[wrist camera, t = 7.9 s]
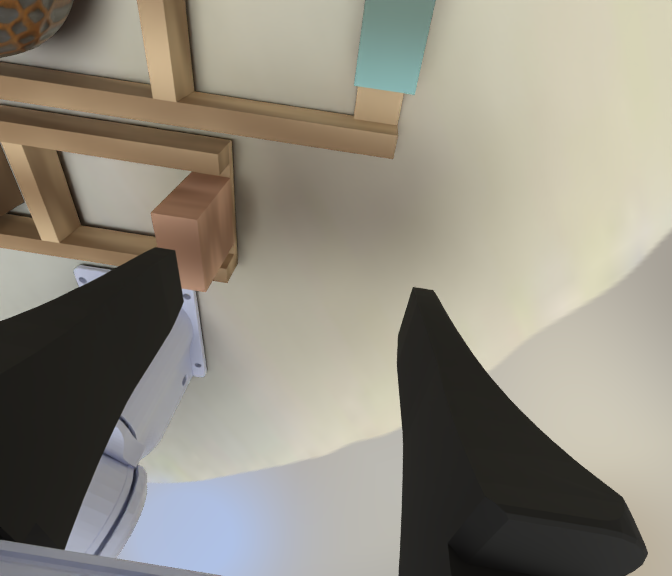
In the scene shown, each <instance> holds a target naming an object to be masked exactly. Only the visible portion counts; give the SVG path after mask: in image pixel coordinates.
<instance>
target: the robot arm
mask: <svg viewBox="0 0 672 576" xmlns="http://www.w3.org/2000/svg"><path fill="white" fill-rule="evenodd" d="M74 275H75V277H76V280H77V283H78V285H79V287H78V288H76V289H74V290H72V291H70V292H68V293H66V294H64V295H62V296H60V297H58V298H56V299H54V300H52V301H50V302H47V303H45V304H43V305H40V306H38V307H36V308H33V309H31V310H28V311H26V312H23V313H21V314H18V315H16V316H13V317H11V318H8V319H5V320H2V321H0V576H221V575H215V574H209V573H202V572H196V571H190V570H184V569H178V568H172V567H166V566H159V565H153V564H147V563H140V562H134V561H128V560H122V559H116V558H117V556H118V555H119V553H120V552H121V550H122V549H123V547H124V546H125V544H126V542H127V541H128V539H129V537H130V536H131V534H132V532H133V530H134V528H135V526H136V524H137V522H138V519H139V517H140V515H141V512H142V510H143V507H144V503H145V500H146V495H147V473H146V470H145V469H144V468H143V467H142V466H140V465H138V463H139V461H140V460H141V459H142V458H144V457H145V456H146V455H148V454H149V453H150V452H151V451H152V450H153V449H154V448H155V447H156V446H157V445H158V443H159V442H160V440H161V439H162V437H163V435H164V433H165V431H166V429H167V427H168V425H169V423H170V421H171V419H172V417H173V415H174V413H175V411H176V409H177V407H178V405H179V403H180V400H181V398H182V396H183V394H184V392H185V390H186V388H187V386H188V384H189V382H190V380H191V378H192V376H196V377H204V376H205V375H206V373H207V368H206V361H205V353H204V346H203V339H202V332H201V325H200V318H199V311H198V304H197V296H196V291H194V290H188V289H182V287H181V281H180V275H179V269H178V263H177V257H176V252H175V250H171V249H165V248H158V247H154V248H152V249H150V250H148V251H146V252H144V253H142V254H140V255H139V256H137V257H135V258H133V259H131V260H129V261H128V262H126V263H124V264H122V265H120V266H119V267H117V268H115V269H113V270H109V269H103V268H96V267H90V266H83V265H79V266H77V267H76V268H75V269H74ZM187 294H189V295H190V296H188V295H187ZM397 372H398V384H399V396H400V407H401V419H402V430H403V484H402V485H403V486H402V517H401V540H400V559H399V576H626V575H627V574H629V573H631V572H633V571H635V570H636V569H637V568H639V567H640V566H641V565H642V564H643V562H644V561H645V559H646V557H647V554H648V552H647V549H646V546H645V543H644V541H643V539H642V537H641V534H640V532H639V530H638V528H637V525H636V523H635V521H634V519H633V517H632V515H631V512H630V511H629V508H628V507H627V504H626V503H625V501H624V499H623V497H622V496H620V495H619V494H618V493H616V492H615V491H614V490H612V489H611V488H610V487H609V486H607V485H606V484H605V483H603V482H602V481H601V480H600V479H598V478H597V477H596V476H594V475H593V474H592V473H591V472H589V471H588V470H587V469H585V468H584V467H583V466H581V465H580V464H579V463H578V462H577V461H575V460H574V459H573V458H572V457H571V456H569V455H568V454H567V453H566V452H565V451H564V450H563V449H561V448H560V447H559V446H558V445H557V444H556V443H554V442H553V441H552V440H551V439H550V438H549V437H548V436H547V435H545V434H544V433H543V432H542V431H541V430H540V429H539V428H538V427H537V426H536V425H535V424H534V423H533V422H532V421H531V420H530V419H529V418H528V417H527V416H526V415H525V414H524V413H523V412H521V411H520V409H519V408H518V407H517V406H516V405H515V404H514V403H513V402H512V401H511V400H510V399H509V398H508V397H507V395H506V394H505V393H504V392H503V391H502V390H501V389H500V388H499V386H498V385H497V384H496V383H495V382H494V381H493V380H492V378H491V377H490V376H489V375H488V373H487V372H486V371H485V370H484V368H483V367H482V366H481V364H480V363H479V362H478V360H477V359H476V357H475V356H474V355H473V353H472V352H471V350H470V349H469V348H468V346H467V345H466V343H465V342H464V340H463V338H462V337H461V335H460V334H459V332H458V331H457V329H456V328H455V326H454V324H453V323H452V321H451V319H450V318H449V316H448V314H447V313H446V311H445V309H444V308H443V306H442V304H441V302H440V301H439V299H438V297H437V295H436V294H435V292H434V291H433V290H428V289H422V288H415V287H413V289H412V292H411V295H410V298H409V302H408V305H407V308H406V311H405V315H404V318H403V321H402V324H401V328H400V331H399V334H398V349H397Z"/></svg>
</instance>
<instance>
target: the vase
mask: <svg viewBox="0 0 672 576" xmlns="http://www.w3.org/2000/svg"><path fill="white" fill-rule="evenodd" d="M72 4H73V0H0V58H1V57H7V56H11V55H15V54H19V53H22V52H25V51H28V50H31V49H33V48H35V47H38V46H39V45H41V44H42V43H44V42H45V41H47V40H48V39H49V38H51V37H52V36H53V35H54V34H55V33H56V32H57V31H58V29H59V28H60V27H61V26H62V25H63V23H64V22H65V20H66V18H67V16H68V14H69V12H70V10H71V7H72Z"/></svg>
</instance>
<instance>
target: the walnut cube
mask: <svg viewBox="0 0 672 576" xmlns="http://www.w3.org/2000/svg"><path fill="white" fill-rule="evenodd" d="M23 202H24V200H23V197H22V195H21V192H20V190H19V188H18V185H17V183H16V180H15V178H14V176H13V173H12V171H11V169H10V166H9V164H8V161H7V159H6V157H5V154H4V152H3V149H2V147H1V145H0V217H1V216H2V215H4V214H6V213H7V212H9V211H10V210H12V209H14V208H15V207H17V206H19V205H20V204H22V203H23Z"/></svg>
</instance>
